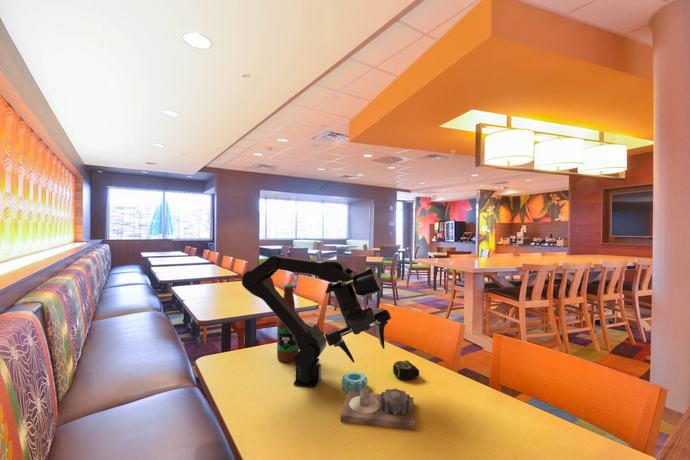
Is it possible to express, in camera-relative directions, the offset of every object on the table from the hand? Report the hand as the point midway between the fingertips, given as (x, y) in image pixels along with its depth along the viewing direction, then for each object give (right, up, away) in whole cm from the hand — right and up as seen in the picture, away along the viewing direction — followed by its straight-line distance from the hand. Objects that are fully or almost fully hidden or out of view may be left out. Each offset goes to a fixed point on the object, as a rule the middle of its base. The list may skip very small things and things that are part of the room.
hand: (368, 355), depth 90 cm
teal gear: (-4, -9, +1) cm, 10 cm away
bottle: (-26, -9, +20) cm, 34 cm away
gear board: (+2, -10, -11) cm, 15 cm away
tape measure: (+12, -10, +8) cm, 18 cm away
